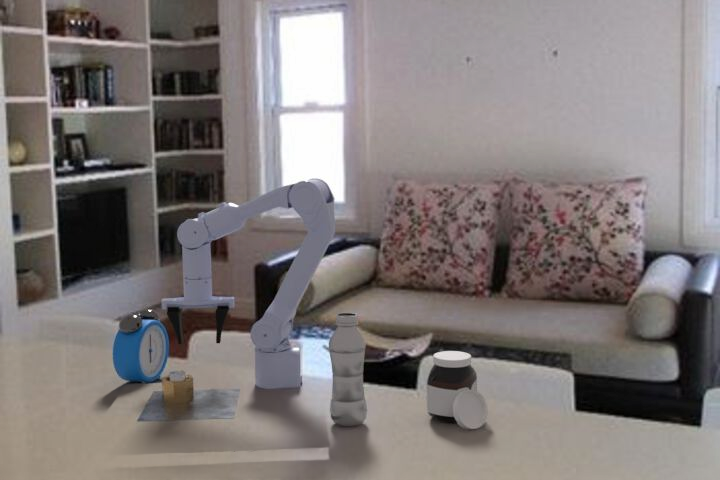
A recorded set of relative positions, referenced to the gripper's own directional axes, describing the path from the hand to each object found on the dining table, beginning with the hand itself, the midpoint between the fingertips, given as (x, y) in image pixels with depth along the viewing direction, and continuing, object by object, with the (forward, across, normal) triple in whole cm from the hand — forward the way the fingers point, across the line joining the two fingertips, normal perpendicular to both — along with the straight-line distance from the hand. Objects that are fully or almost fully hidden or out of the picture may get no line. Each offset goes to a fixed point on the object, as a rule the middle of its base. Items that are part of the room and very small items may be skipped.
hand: (199, 342), depth 178 cm
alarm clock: (+10, +13, -6) cm, 17 cm away
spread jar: (+10, -49, +26) cm, 56 cm away
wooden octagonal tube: (+8, +3, +12) cm, 15 cm away
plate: (+9, 0, +16) cm, 19 cm away
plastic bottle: (+10, -29, +26) cm, 40 cm away
